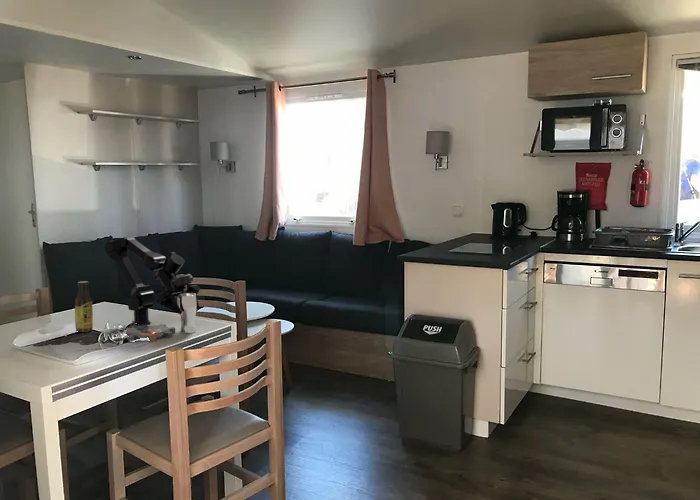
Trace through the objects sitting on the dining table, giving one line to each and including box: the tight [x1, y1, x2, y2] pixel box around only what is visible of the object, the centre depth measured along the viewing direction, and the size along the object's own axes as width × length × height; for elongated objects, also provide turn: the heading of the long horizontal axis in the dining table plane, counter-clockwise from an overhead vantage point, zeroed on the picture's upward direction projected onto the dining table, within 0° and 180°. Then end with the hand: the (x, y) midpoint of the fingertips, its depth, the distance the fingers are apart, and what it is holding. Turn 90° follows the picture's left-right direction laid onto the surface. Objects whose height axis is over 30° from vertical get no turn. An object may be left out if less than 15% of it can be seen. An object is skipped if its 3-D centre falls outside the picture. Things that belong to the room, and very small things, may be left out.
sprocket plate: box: [125, 324, 176, 343], centre depth 220 cm, size 20×20×2 cm
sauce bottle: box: [74, 280, 94, 333], centre depth 224 cm, size 6×6×20 cm
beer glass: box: [177, 293, 197, 334], centre depth 225 cm, size 7×7×15 cm
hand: (190, 311), depth 225 cm, fingers open, 9 cm apart
